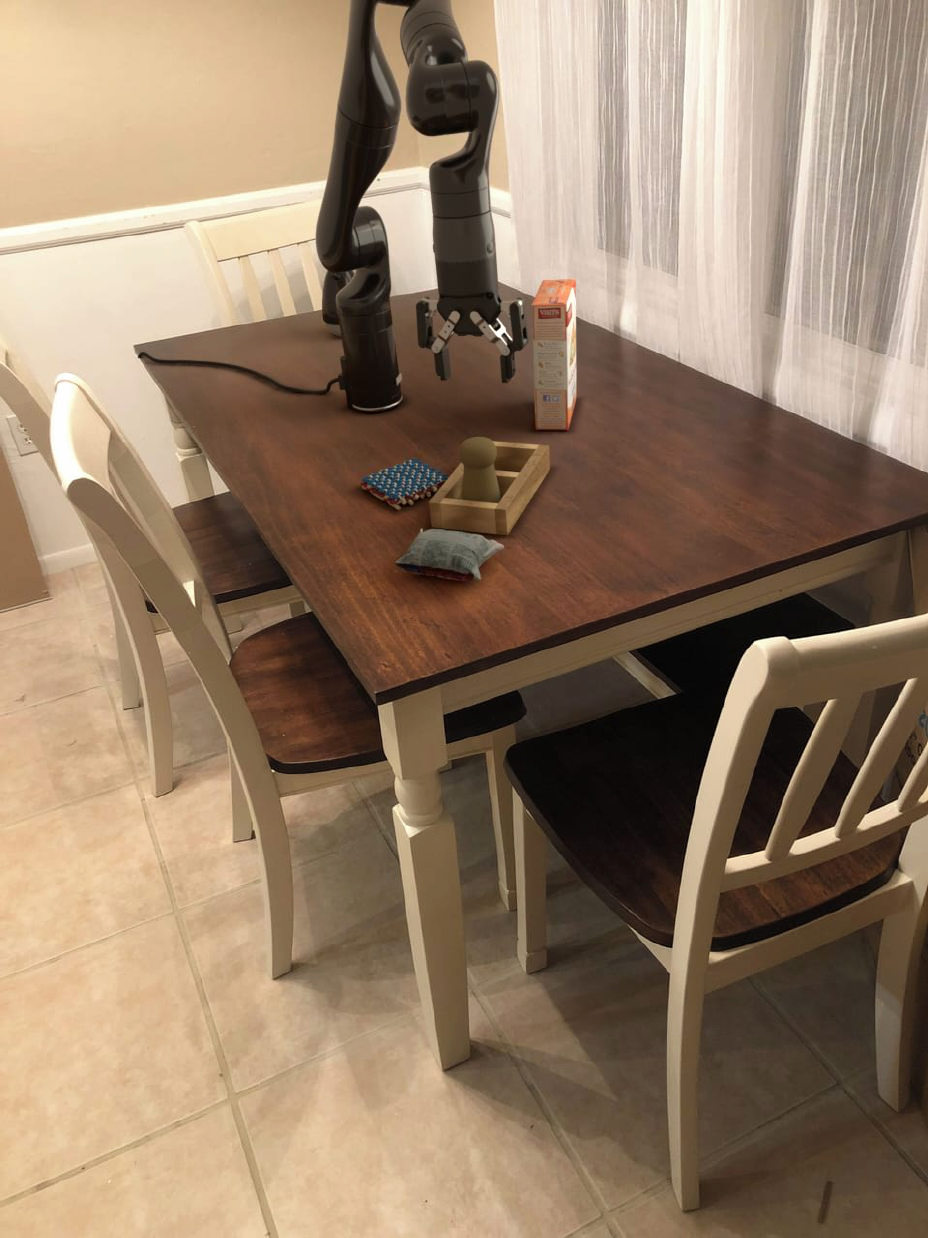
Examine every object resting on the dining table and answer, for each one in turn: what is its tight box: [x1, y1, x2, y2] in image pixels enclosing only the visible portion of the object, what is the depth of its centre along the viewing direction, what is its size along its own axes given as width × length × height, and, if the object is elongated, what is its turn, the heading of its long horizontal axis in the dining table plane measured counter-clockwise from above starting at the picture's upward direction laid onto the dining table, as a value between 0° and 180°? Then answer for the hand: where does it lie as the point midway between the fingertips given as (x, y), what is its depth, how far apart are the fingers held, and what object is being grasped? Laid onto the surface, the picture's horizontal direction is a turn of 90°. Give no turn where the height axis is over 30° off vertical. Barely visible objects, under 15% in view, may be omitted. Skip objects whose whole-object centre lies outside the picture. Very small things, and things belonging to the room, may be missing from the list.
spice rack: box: [428, 440, 551, 536], centre depth 138 cm, size 11×21×4 cm, turn 159°
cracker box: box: [531, 278, 577, 431], centre depth 156 cm, size 14×6×21 cm, turn 168°
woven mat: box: [360, 457, 450, 511], centre depth 143 cm, size 10×11×2 cm
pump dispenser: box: [321, 269, 355, 338], centre depth 205 cm, size 10×10×15 cm
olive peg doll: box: [458, 436, 501, 503], centre depth 132 cm, size 6×6×11 cm
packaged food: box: [394, 528, 505, 582], centre depth 122 cm, size 9×12×5 cm
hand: (475, 379), depth 125 cm, fingers open, 8 cm apart
